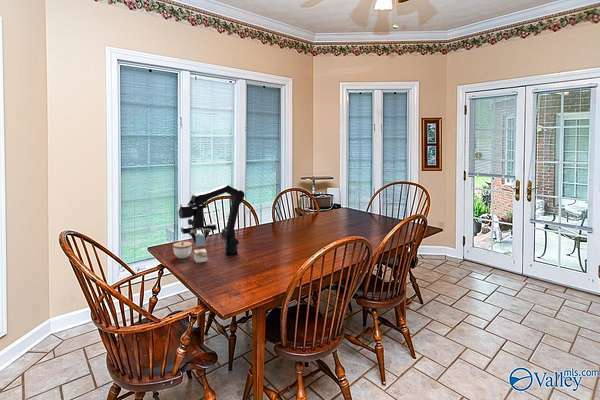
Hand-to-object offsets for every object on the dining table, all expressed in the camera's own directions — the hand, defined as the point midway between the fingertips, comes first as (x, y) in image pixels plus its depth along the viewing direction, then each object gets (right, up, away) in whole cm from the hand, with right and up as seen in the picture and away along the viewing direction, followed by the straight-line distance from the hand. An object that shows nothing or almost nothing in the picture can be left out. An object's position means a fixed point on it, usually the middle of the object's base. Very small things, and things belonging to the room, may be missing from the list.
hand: (199, 243), depth 206 cm
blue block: (0, -1, 0) cm, 1 cm away
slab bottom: (0, -10, +2) cm, 11 cm away
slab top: (0, -8, +1) cm, 8 cm away
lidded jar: (-12, -9, +8) cm, 17 cm away
